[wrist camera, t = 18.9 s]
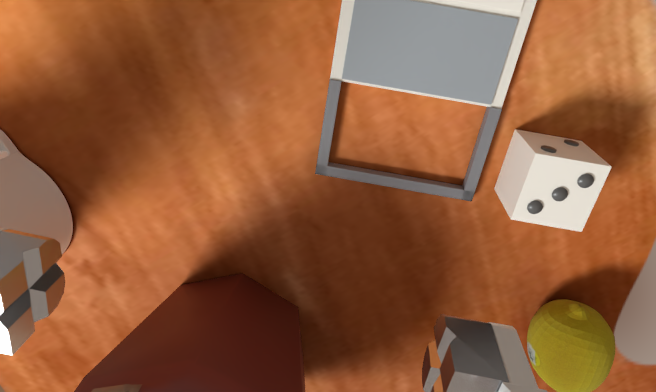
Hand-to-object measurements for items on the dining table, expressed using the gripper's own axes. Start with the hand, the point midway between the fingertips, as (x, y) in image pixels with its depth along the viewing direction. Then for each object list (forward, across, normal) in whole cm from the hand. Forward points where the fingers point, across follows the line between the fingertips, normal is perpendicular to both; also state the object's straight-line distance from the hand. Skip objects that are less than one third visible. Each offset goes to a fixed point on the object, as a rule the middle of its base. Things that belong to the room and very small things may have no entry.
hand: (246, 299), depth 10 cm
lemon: (+34, -28, +24) cm, 50 cm away
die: (+34, -19, +8) cm, 40 cm away
